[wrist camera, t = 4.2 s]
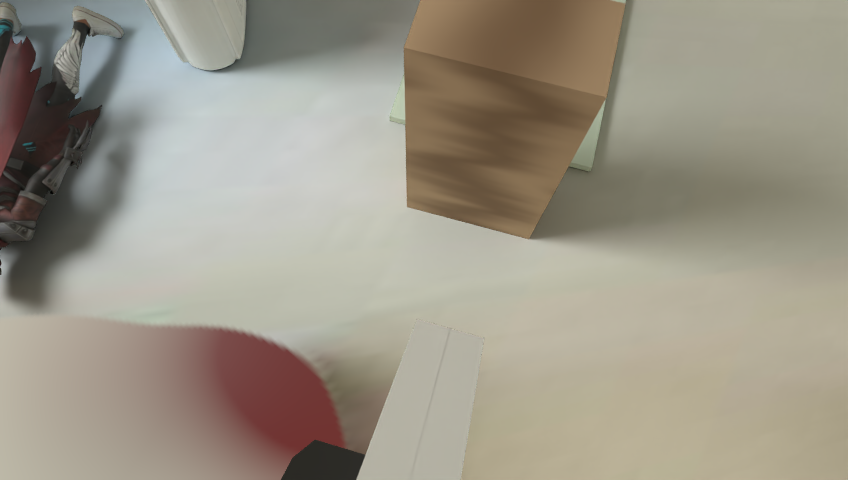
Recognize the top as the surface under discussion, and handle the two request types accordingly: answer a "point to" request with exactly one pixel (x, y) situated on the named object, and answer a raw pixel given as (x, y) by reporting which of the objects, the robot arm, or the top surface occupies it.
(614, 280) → the top surface
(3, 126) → the action figure
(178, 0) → the photo printer
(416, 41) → the walnut block
